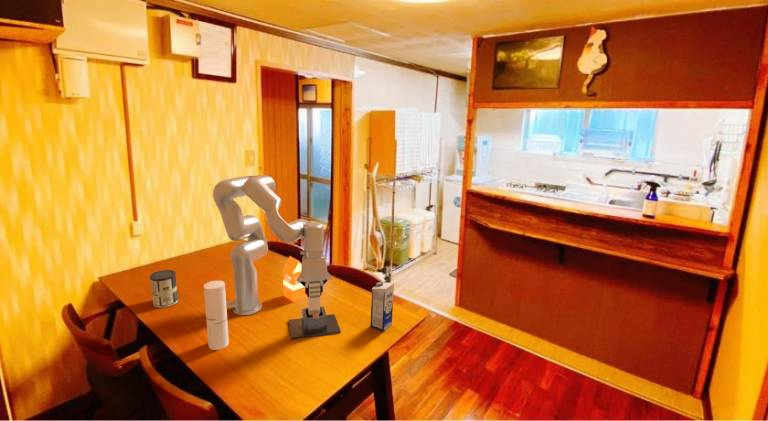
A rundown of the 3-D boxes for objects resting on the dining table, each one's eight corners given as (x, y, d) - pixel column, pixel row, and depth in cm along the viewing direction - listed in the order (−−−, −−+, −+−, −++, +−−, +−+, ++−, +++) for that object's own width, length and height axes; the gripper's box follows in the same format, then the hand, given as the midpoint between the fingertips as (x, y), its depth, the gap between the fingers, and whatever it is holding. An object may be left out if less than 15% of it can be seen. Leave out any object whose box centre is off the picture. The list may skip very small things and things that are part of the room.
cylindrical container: (212, 339, 149) (207, 280, 143) (231, 338, 149) (227, 280, 143) (205, 350, 142) (200, 289, 136) (225, 349, 143) (221, 289, 136)
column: (309, 315, 155) (309, 284, 152) (308, 310, 160) (307, 279, 156) (320, 314, 156) (320, 283, 153) (318, 308, 161) (318, 278, 158)
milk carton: (383, 332, 159) (385, 288, 154) (370, 327, 162) (371, 284, 157) (392, 324, 165) (394, 282, 160) (379, 320, 168) (380, 278, 163)
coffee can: (168, 295, 182) (165, 268, 178) (183, 300, 178) (180, 272, 174) (147, 304, 173) (144, 275, 169) (162, 309, 168) (159, 280, 165)
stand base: (291, 339, 150) (290, 320, 148) (288, 321, 163) (288, 303, 161) (340, 333, 157) (341, 314, 155) (334, 316, 170) (334, 298, 167)
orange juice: (297, 291, 192) (296, 254, 187) (306, 297, 186) (306, 259, 181) (283, 295, 186) (282, 257, 181) (292, 302, 180) (292, 263, 175)
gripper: (293, 258, 146) (294, 301, 150) (336, 255, 151) (335, 296, 156) (291, 251, 153) (292, 292, 157) (332, 248, 158) (332, 288, 162)
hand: (313, 294), depth 156 cm, fingers closed on column, 4 cm apart
